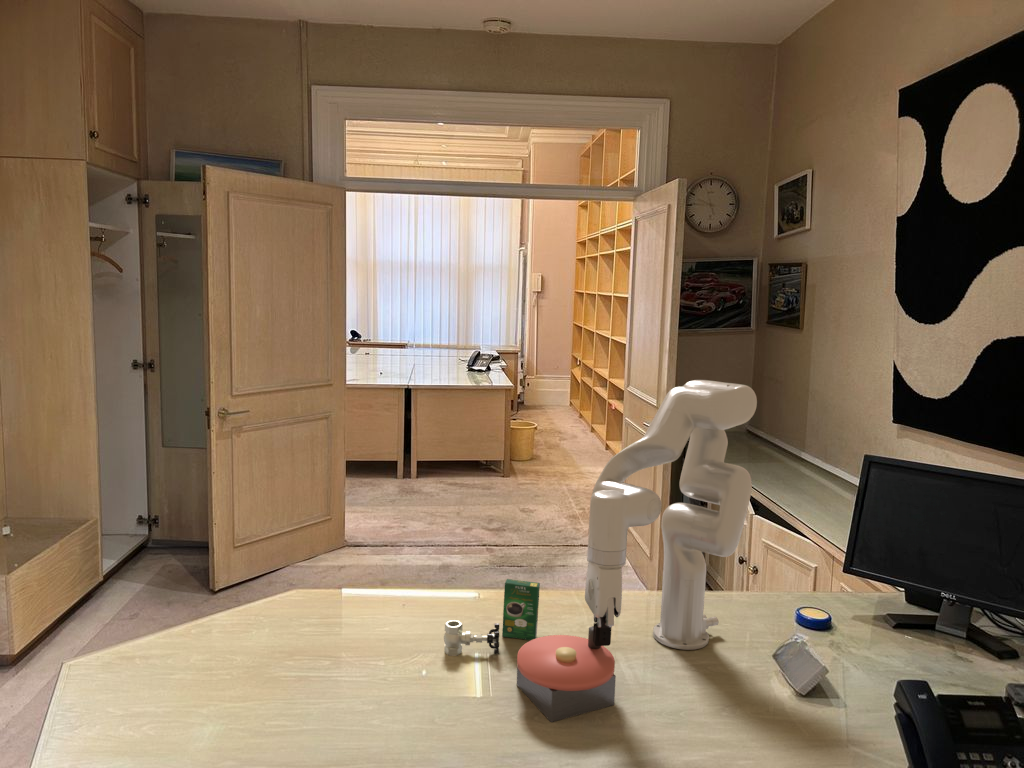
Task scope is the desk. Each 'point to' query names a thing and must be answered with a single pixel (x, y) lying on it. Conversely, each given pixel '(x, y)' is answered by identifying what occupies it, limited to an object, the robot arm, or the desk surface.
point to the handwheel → (566, 662)
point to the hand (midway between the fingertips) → (601, 643)
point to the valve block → (567, 698)
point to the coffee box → (520, 609)
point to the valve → (466, 638)
